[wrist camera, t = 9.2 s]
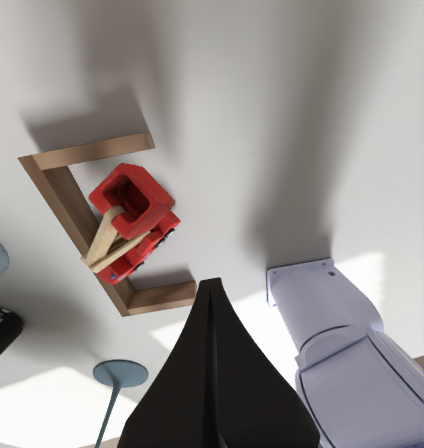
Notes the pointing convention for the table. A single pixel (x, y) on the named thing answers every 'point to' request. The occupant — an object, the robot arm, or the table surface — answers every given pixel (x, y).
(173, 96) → the table surface
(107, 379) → the cocktail glass
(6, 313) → the beverage can
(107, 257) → the toy fire truck
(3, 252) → the grey-green ceramic cup
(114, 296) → the garage bay
